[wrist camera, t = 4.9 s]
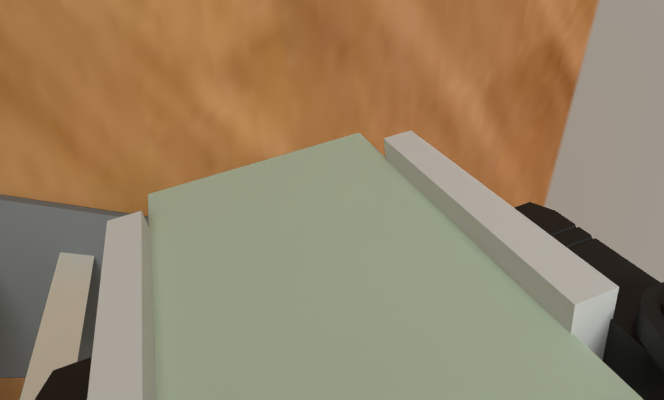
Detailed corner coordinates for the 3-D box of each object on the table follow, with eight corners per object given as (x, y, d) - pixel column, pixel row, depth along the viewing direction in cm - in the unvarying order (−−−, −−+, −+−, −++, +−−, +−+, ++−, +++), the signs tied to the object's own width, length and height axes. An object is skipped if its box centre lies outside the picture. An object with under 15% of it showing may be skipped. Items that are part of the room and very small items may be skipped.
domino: (44, 343, 27) (-15, 581, 17) (60, 252, 25) (2, 461, 15) (76, 345, 28) (37, 574, 18) (94, 255, 26) (61, 458, 16)
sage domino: (147, 194, 13) (173, 1082, 3) (359, 132, 14) (878, 620, 4) (167, 242, 14) (240, 1061, 4) (365, 180, 15) (811, 682, 5)
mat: (-269, 366, 23) (-276, 374, 23) (-294, 151, 19) (-303, 156, 19) (273, 375, 35) (274, 380, 34) (324, 242, 31) (326, 246, 30)
